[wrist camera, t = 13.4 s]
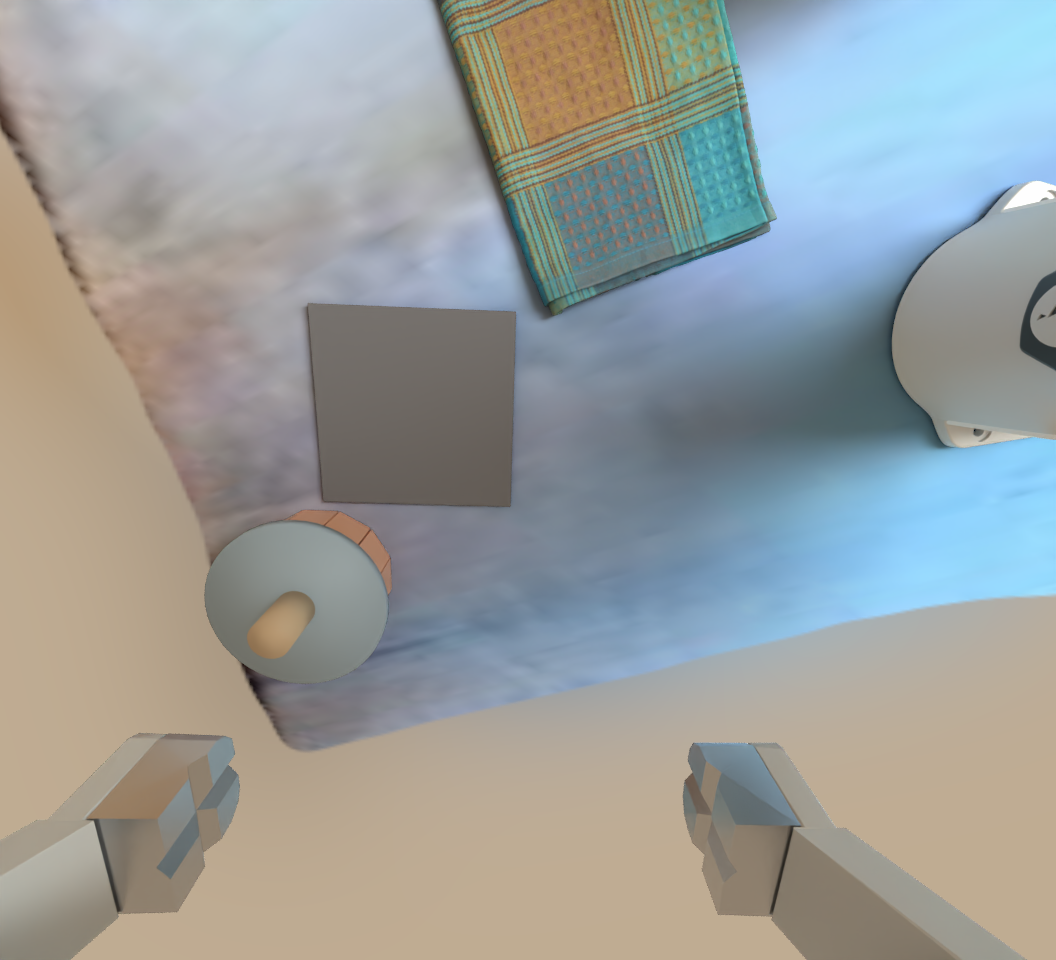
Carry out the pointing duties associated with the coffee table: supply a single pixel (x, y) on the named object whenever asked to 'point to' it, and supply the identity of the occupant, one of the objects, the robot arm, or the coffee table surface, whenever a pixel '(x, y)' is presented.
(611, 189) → the dish towel
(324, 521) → the bowl
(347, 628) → the lid
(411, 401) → the mat
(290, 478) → the coffee table surface
